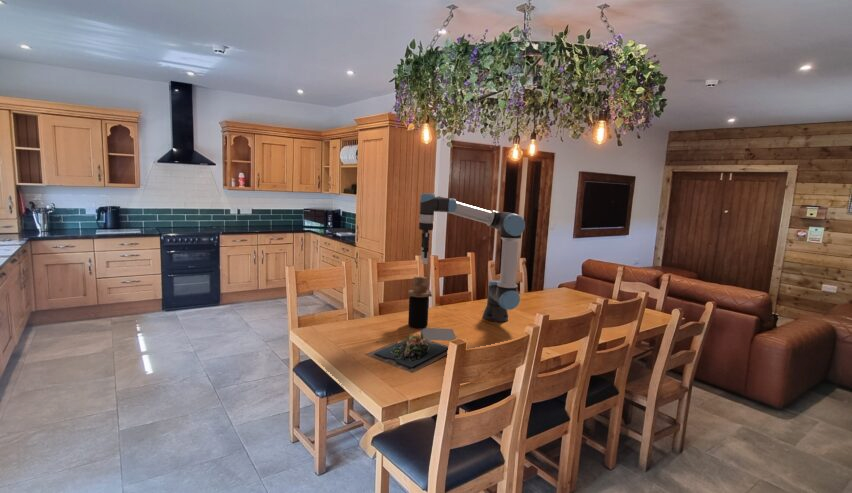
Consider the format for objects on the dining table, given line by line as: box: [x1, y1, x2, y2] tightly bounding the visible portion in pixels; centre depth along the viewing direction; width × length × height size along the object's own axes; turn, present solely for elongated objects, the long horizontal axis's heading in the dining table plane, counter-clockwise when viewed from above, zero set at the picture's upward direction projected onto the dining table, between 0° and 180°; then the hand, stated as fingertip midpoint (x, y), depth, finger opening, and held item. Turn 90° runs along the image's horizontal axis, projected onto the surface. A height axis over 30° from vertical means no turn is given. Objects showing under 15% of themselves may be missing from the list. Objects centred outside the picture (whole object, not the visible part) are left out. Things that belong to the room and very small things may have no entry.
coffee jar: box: [408, 296, 430, 329], centre depth 242 cm, size 11×11×18 cm
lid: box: [408, 276, 433, 298], centre depth 240 cm, size 12×12×9 cm
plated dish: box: [365, 330, 448, 374], centre depth 206 cm, size 35×28×7 cm
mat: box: [419, 327, 457, 342], centre depth 232 cm, size 18×18×1 cm
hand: (424, 261), depth 239 cm, fingers open, 13 cm apart
